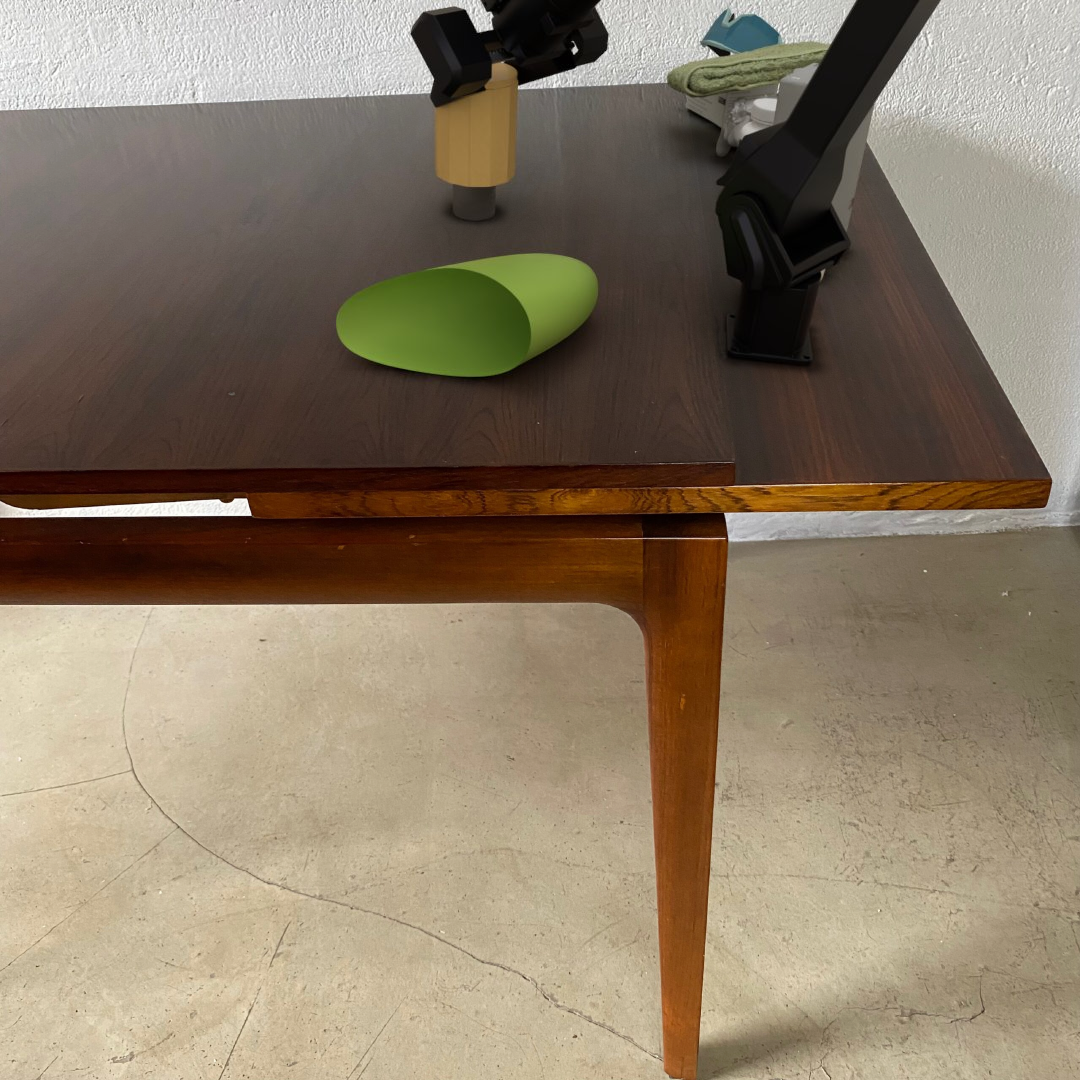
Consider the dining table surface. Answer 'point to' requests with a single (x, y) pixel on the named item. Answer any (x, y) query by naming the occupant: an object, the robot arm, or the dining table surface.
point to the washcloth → (744, 69)
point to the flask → (474, 202)
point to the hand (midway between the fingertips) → (465, 94)
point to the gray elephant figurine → (736, 124)
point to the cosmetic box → (845, 193)
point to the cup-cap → (479, 133)
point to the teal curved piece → (739, 34)
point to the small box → (726, 102)
